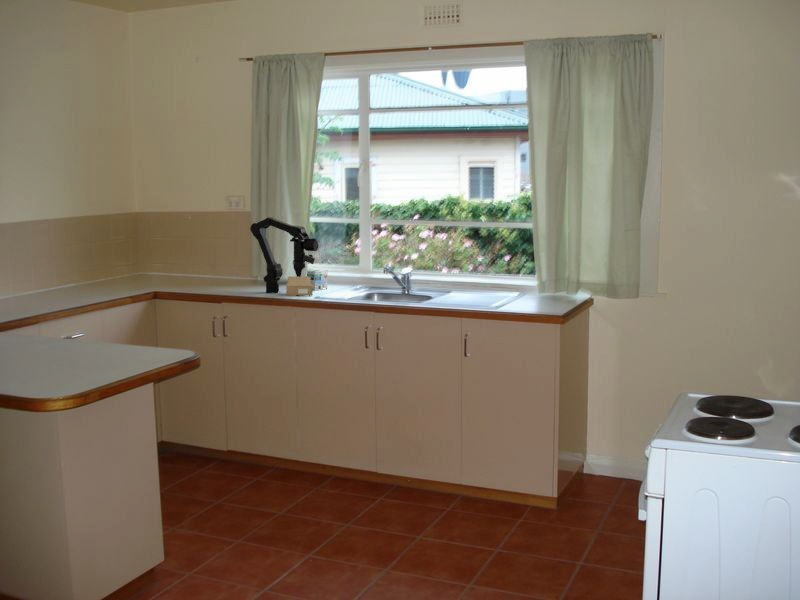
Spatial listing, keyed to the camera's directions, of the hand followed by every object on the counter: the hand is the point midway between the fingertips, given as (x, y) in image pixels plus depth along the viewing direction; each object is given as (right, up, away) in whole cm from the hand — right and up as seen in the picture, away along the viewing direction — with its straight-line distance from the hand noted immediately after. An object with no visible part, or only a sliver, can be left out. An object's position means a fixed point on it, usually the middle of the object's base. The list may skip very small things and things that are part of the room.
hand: (299, 279), depth 468 cm
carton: (0, -8, +1) cm, 8 cm away
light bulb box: (+7, -5, +23) cm, 25 cm away
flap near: (+1, -1, -5) cm, 5 cm away
